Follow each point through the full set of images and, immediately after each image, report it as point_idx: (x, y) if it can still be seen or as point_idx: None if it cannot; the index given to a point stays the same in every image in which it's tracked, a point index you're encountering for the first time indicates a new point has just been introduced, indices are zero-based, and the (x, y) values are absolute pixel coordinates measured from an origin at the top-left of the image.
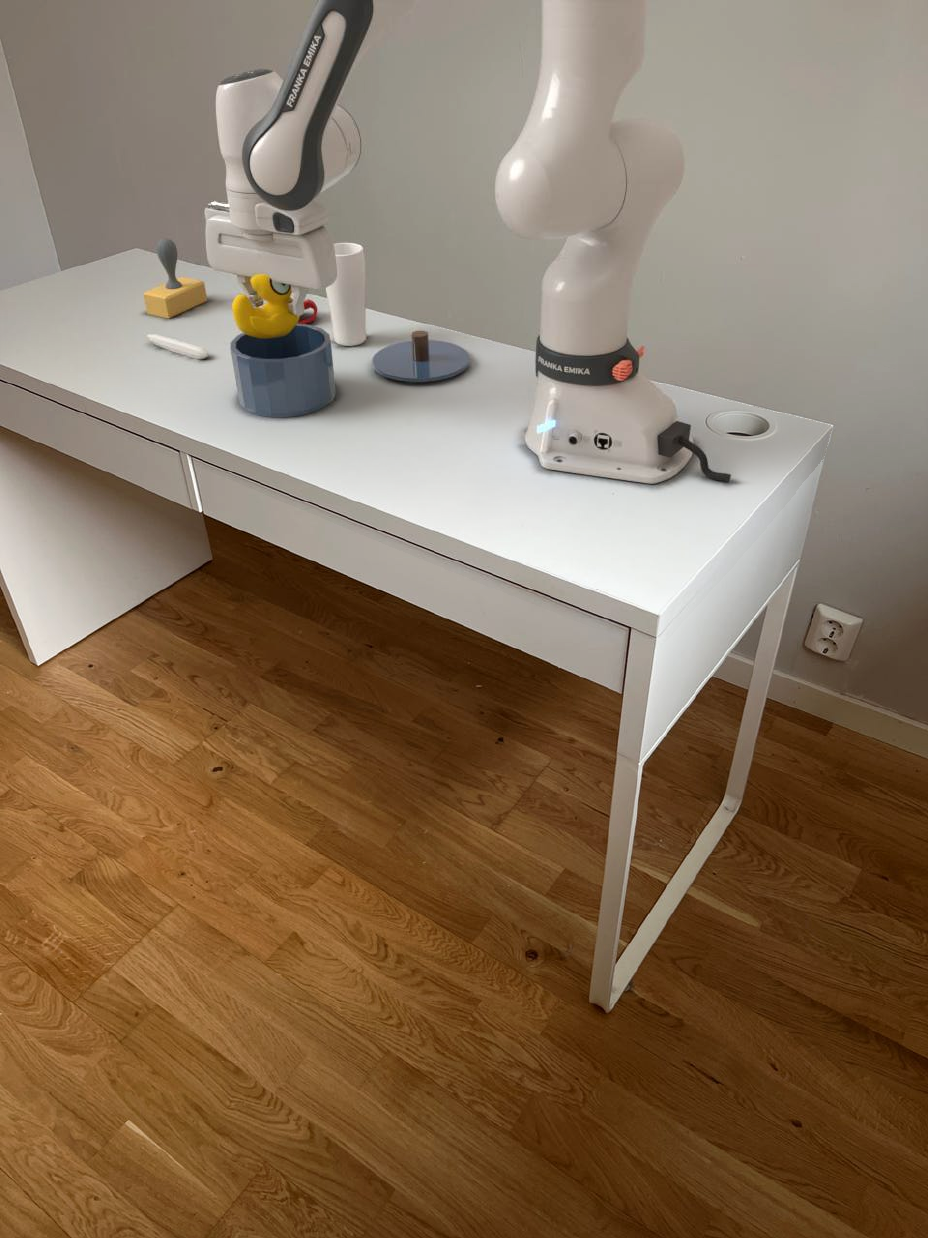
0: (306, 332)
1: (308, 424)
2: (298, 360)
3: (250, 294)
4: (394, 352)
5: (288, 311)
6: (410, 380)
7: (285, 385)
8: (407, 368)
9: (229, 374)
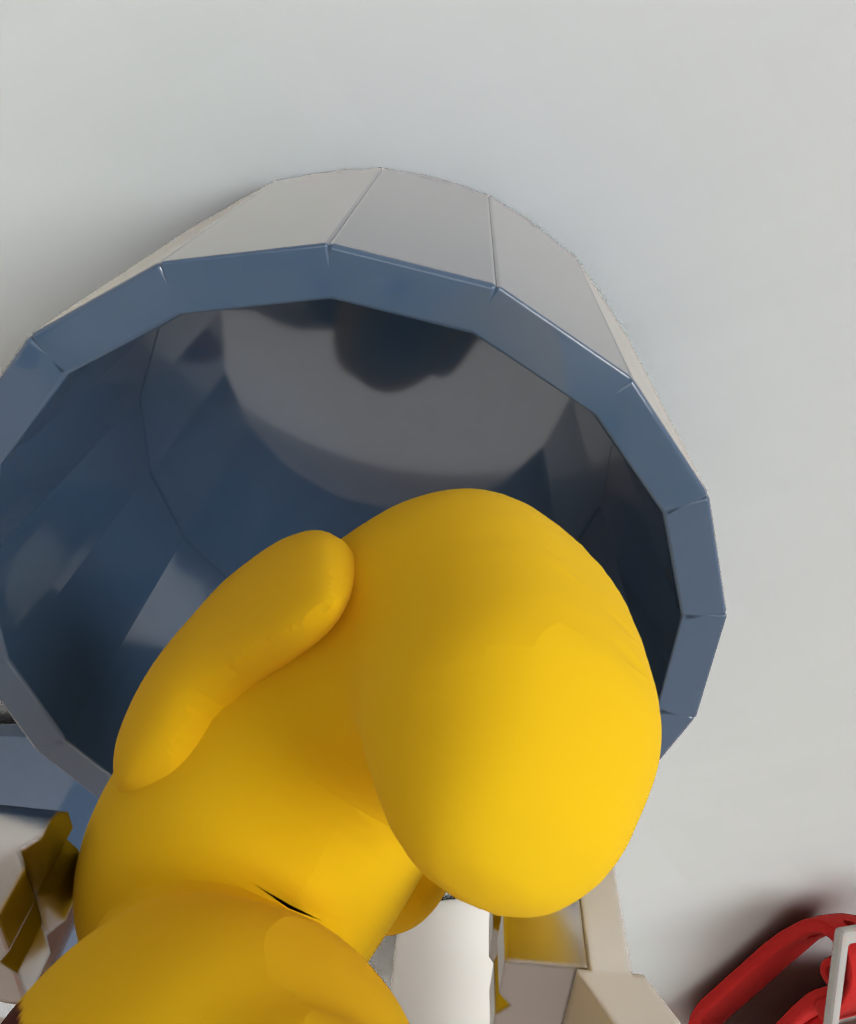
0: None
1: (38, 190)
2: None
3: (573, 977)
4: None
5: (46, 827)
6: None
7: (118, 275)
8: (30, 801)
9: (827, 546)
